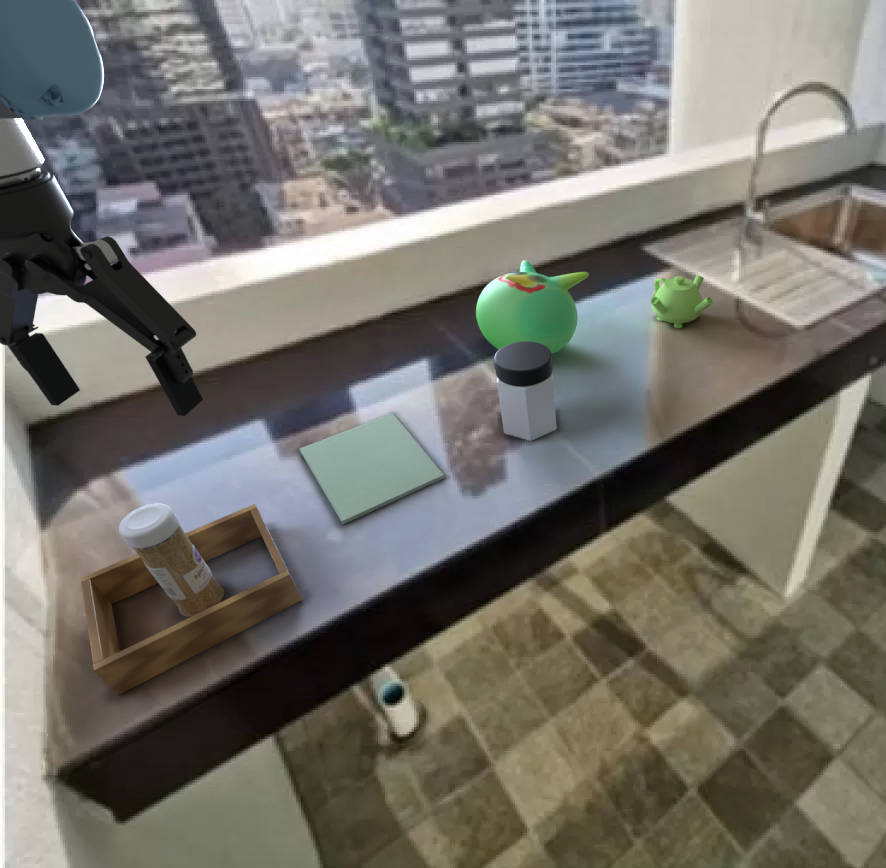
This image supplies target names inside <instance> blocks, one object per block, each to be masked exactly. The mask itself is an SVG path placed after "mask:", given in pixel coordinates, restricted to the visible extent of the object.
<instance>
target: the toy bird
mask: <svg viewBox="0 0 886 868" xmlns="http://www.w3.org/2000/svg"><path fill="white" fill-rule="evenodd" d="M589 276H590V273H589V272H588V271H578V272H572V273H565V274H561V275H555V276H547V275H545V274H542V273H538V272H537V271H536V269H535V268H534V266H533V265H532V263H531V262H530V261H528V260H527V259H523V260H522V261H521V263H520V266H519V271H513V272H508V273H505V274H502V275H500V276H497V277H496V278H493V280H492V281H490V282H489V283H487V285H486V286H485V287H484V288H483V289H482V291H481V293H480V294H479V297H478V299H477V302H476V307H475V317H476V322H477V326H478V328H479V330H480V332H481V334H482V336H483V337H484V338H485V339H486V340H487V342H488V343H489V344H491V345H492V346H493V347H494V348H496V349H497V350H499V349H501V348H502V347H504V346H506V345H508V344H511V343H515V342H523V341H529V342H536V343H540V344H543V345H545V346H546V347H548V348H549V349H550V351H551V353H552V355H554V354H556V353H557V352H559V351H561V350H562V349H563V348H565V346H566V345H568V343H569V342H570V340H571V339H572V338H573V336H574V334H575V331H576V329H577V325H578V309H577V305H576V303H575V300H574V298H573V296H572V295H571V294H570V292H569V290H570V289H571V288H573V287H574V286H576V285H578V284H579V283H581V282H583V281H584V280H586V279H587V278H588V277H589Z"/></svg>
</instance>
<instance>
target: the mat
mask: <svg viewBox="0 0 886 868" xmlns="http://www.w3.org/2000/svg"><path fill="white" fill-rule="evenodd" d="M299 451H300V454H301V456H302V457H303V459H304V460H305V462H306V464H307V465H308V467H309V469H310V470H311V473H312V475H313V476H314V477H315V479H316V481H317V483H318V484H319V486H320V488H321V490H322V491H323V493H324V495H325V496H326V498H327V500H328V502H329V504H330V505H331V507H332V508H333V510H334V513H336V516H337V517H338V518H339V520H340V522H341V524H342V525H345V524H347V523H349V522H352V521H354V520H356V519H358V518H361V517H363V516H365V515H367V514H369V513H371V512H373V511H376V510H378V509H380V508H382V507H384V506H386V505H389V504H391V503H394V502H395V501H398V500H400V499H402V498H404V497H406V496H408V495H411V494H412V493H415V492H417V491H420V490H422V489H424V488H425V487H428V486H431V485H432V484H435V483H436V482H439V481H441V480H443V479H445V474H444V473H443V472H442V471H441V469H440V468H439V467H438V466H437V465H436V463H435V462H434V461H433V460H432V458H431V457H430V456H429V455H428V454H427V453H426V451H425V449H423V448H422V447H421V446H420V444H419V443H418V442H417V441H416V439H415V438H414V437H413V436H412V435H411V434H410V431H408V429H407V428H406V427H405V426H404V425H403V424H402V423H401V421H400V420H399V419H398V418H397V417H396V415H395V414H394V413H393V412H390V413H388V414H385V415H383V416H380V417H377V418H375V419H372V420H369V421H367V422H365V423H364V422H363V423H362V424H360V425H359V424H358V425H357V426H354V427H352V428H349V429H347V430H346V429H345V430H344V431H341V432H338V433H336V434H333V435H331V436H328V437H326V438H323V439H321V440H320V439H319V440H318V441H315V442H313V443H310V444H308V445H305V446H302V447H300V448H299Z"/></svg>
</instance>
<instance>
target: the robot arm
mask: <svg viewBox="0 0 886 868" xmlns="http://www.w3.org/2000/svg"><path fill="white" fill-rule="evenodd" d="M94 35H95V34H94V30H93V28H92V26H91V24H90V21H89V19H88V18H87V16H86V15H85V13H84V11H83V9H82V7H81V6H80V5H79V4H78V2H77V1H76V0H0V345H3V346H7V347H8V349H9V350H10V352H11V353H12V355H13V356H14V357H15V358H16V360H17V362H19V364H20V366H21V367H22V368H23V369H24V371H26V372H27V373H28V375H29V376H30V377H31V378H32V380H33V381H34V383H35V384H36V386H37V387H38V389H39V390H40V392H41V393H42V394H43V395H44V397H45V398H46V400H47V401H48V403H49V404H50V406H60V405H62V404H63V403H64V402H66V401H67V400H68V399H70V398H71V397H73V396H74V395H76V394H78V392H80V391H81V389H80V387H79V386H78V384H77V382H76V381H75V380H74V378H73V377H72V375H71V374H70V372H69V370H68V369H67V368H66V366H65V364H64V363H63V361H62V360H61V359H60V357H59V355H58V354H57V352H56V351H55V350H54V348H53V346H52V344H51V343H50V342H49V341H48V339H47V338H46V336H45V334H44V333H42V332H39V333H38V332H35V333H33V334H31V335H30V333H32V332H34V331H36V330H38V329H39V326H36V324H34V322H35V321H34V320H35V315H36V309H37V305H38V299H39V295H42V294H46V293H48V294H52V295H55V296H66V297H68V298H69V299H71V301H73V302H75V303H79V304H85V305H87V306H89V308H91V309H92V310H94V311H95V312H96V313H98V314H99V315H101V316H102V317H103V318H104V319H106V320H107V321H108V322H110V323H111V324H113V325H114V326H116V328H118V329H120V330H121V331H122V332H124V334H126V335H127V336H129V337H130V338H132V340H134V341H136V342H137V343H138V344H140V345H141V346H142V347H144V348H145V349H146V350H148V351H149V352H150V353H149V354H147V355H146V356H145V359H146V361H147V363H148V365H149V366H150V368H151V369H152V372H153V374H154V376H155V377H156V379H157V381H158V382H159V385H160V387H161V388H162V389H163V391H164V394H165V395H166V397H167V399H168V400H169V402H170V404H171V406H172V408H173V409H174V411H175V413H176V415H177V416H179V417H181V416H182V417H185V416H187V415H188V414H189V413H190V412H191V411H193V410H194V409H195V408H196V407H197V406H198V405H199V404H200V403H201V402H202V401H203V400H204V399H203V396H202V395H201V393H200V391H199V389H198V386H197V385H196V383H195V381H194V379H193V376H194V370H193V368H192V366H191V364H190V362H189V360H188V358H187V356H186V354H185V352H184V350H183V348H182V347H184V346H185V345H186V344H188V343H190V342H191V341H192V340H193V339H195V338H196V337H197V331H196V330H195V329H194V327H192V326H191V324H190V323H189V322H188V321H187V320H186V319H185V318H184V317H183V316H182V315H181V314H180V313H179V312H178V311H177V310H176V309H175V308H174V307H173V306H172V305H171V304H170V303H169V302H168V301H167V300H166V298H165V297H163V296H162V295H161V293H160V292H159V291H158V290H157V289H156V288H155V287H153V285H152V284H151V283H150V282H149V281H148V280H147V278H145V277H144V276H143V274H141V272H139V271H138V270H137V268H136V267H135V266H133V264H132V263H130V261H129V259H128V257H127V256H126V254H125V253H124V251H123V250H122V248H121V247H120V245H119V242H117V240H115V238H113V237H111V236H109V235H106V236H103V237H101V238H99V239H97V240H95V241H88V242H83V241H82V240H81V239H80V238H79V237H78V236H77V235H76V233H75V232H74V231H73V229H72V226H71V225H72V219H73V217H74V210H73V208H72V206H71V204H70V203H69V201H68V199H67V197H66V195H65V194H64V192H63V189H62V188H61V185H60V184H59V182H58V180H57V179H56V177H55V175H54V174H53V173H51V172H49V171H48V170H47V169H43V168H40V167H42V166H43V164H44V162H45V158H44V157H43V154H42V152H41V151H40V149H39V147H38V145H37V144H36V141H35V140H34V137H32V134H31V132H30V130H29V129H28V127H27V125H26V123H25V122H24V120H25V121H29V120H31V121H43V120H45V119H46V118H55V117H72V116H78V115H81V114H84V113H86V112H87V111H89V110H90V109H92V108H93V106H95V105H96V103H97V102H98V101H99V99H100V97H101V94H102V91H103V87H104V81H105V80H104V78H105V73H104V72H105V71H104V63H103V62H104V61H103V58H102V53H101V52H100V50H99V48H98V43H97V41H96V39H95V36H94ZM87 277H88V278H90V279H91V280H90V281H88V282H87ZM155 337H156V338H157V339H156V338H155Z"/></svg>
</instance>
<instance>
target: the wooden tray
mask: <svg viewBox="0 0 886 868" xmlns="http://www.w3.org/2000/svg"><path fill="white" fill-rule="evenodd" d="M184 533H185V534H186V535H187V537H188V538H189V540H190V542H191V543H192V544H193V545H194V546H195V548H196V549H197V551H198V552H199V554H200V555H201V557H202V558H203V560H204V561H205V563H206V562H207V561H210V560H212V559H214V558H217V557H219V556H221V555H223V554H226V553H228V552H230V551H233V550H235V549H237V548H239V547H241V546H244V545H246V544H248V543H250V542H252V541H255V540H256V539H258V538H261V537H262V540H263V542H264V544H265V546H266V548H267V550H268V552H269V554H270V557H271V559H272V561H273V563H274V565H275V567H276V569H277V572H278V574H276V575H274V576H272V577H270V578H268V579H266V580H264V581H262V582H260V583H257V584H255V585H253V586H251V587H249V588H247V589H245V590H243V591H241V592H239V593H238V594H235V595H233V596H230V597H229V598H227V599H225V600H222V601H221V602H220V603H219V604H217V605H215V606H212V607H210V608H208V609H206V610H204V611H202V612H200V613H198V614H196V615H194V616H192V617H187V618H186V619H184V620H182V621H180V622H177V623H175V624H174V625H172V626H169V627H167V628H165V629H163V630H161V631H159V632H157V633H155V634H153V635H151V636H149V637H147V638H144V639H142V640H141V641H138V642H136V643H134V644H132V645H131V646H128V647H127V648H125V649H122V650H121V648H120V643H119V638H118V631H117V626H116V621H115V615H114V610H113V604H115V603H117V602H119V601H122V600H124V599H126V598H128V597H130V596H133V595H135V594H137V593H140V592H141V591H144V590H147V589H148V588H150V587H153V586H155V585H157V584H159V583H158V582H157V580H156V579H155V578H154V576H153V575H152V574H151V572H150V571H149V570H148V568H147V567H146V566H145V564H144V562H143V560H142V559H141V558H140V556H139V555H138V554H137V553H136V554H133V555H130V556H128V557H127V558H124V559H121V560H120V561H117V562H115V563H113V564H110V565H108V566H105V567H102V568H101V569H98V570H96V571H94V572H92V573H89V574H86V575H84V576H82V577H80V583H81V590H82V596H83V597H82V598H83V603H84V609H85V610H84V612H85V618H86V625H87V631H88V638H89V645H90V651H91V652H90V654H91V659H92V668H93V671H94V672H95V674H97V676H98V677H100V678H101V679H102V680H103V682H105V684H106V685H108V686H109V688H111V689H112V691H114V692H115V694H117V695H118V696H120V695H121V694H124V693H126V692H127V691H129V690H131V689H134V688H135V687H137V686H139V685H141V684H143V683H145V682H147V681H149V680H151V679H153V678H155V677H156V676H159V675H160V674H162V673H164V672H166V671H169V670H170V669H173V668H174V667H175V666H178V665H180V664H181V663H182V664H183V662H186V661H187V660H189V659H191V658H193V657H195V656H197V655H199V654H201V653H204V652H205V651H207V650H209V649H210V648H211V649H212V648H213V647H215V646H216V645H218V644H221V643H222V642H224V641H226V640H228V639H230V638H232V637H234V636H236V635H238V634H240V633H241V632H244V631H245V630H247V629H249V628H251V627H253V626H255V625H257V624H259V623H262V622H263V621H265V620H267V619H269V618H271V617H272V616H275V615H276V614H278V613H280V612H282V611H284V610H287V609H288V608H290V607H292V606H293V605H295V604H297V603H299V602H301V601H303V597H302V595H301V593H300V591H299V589H298V587H297V585H296V583H295V581H294V578H293V576H292V575H291V573H290V571H289V568H288V566H287V564H286V562H285V560H284V558H283V556H282V554H281V551H280V550H279V548H278V546H277V544H276V542H275V540H274V538H273V536H272V534H271V531H270V530H269V528H268V525H267V524H266V521H265V520H264V518H263V516H262V514H261V512H260V510H259V508H258V506H257V505H256V503H253V504H251V505H249V506H246V507H243V508H241V509H239V510H237V511H234V512H232V513H230V514H227V515H225V516H223V517H220V518H218V519H215V520H213V521H212V522H209V523H206V524H204V525H202V526H200V527H197V528H195V529H192V530H190V531H188V532H184Z"/></svg>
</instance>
